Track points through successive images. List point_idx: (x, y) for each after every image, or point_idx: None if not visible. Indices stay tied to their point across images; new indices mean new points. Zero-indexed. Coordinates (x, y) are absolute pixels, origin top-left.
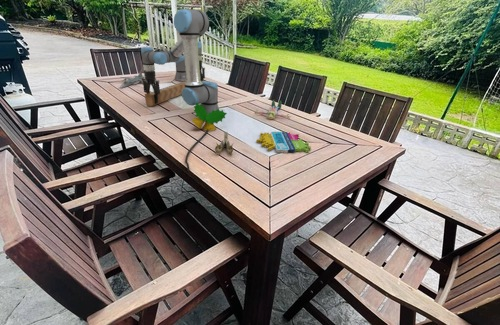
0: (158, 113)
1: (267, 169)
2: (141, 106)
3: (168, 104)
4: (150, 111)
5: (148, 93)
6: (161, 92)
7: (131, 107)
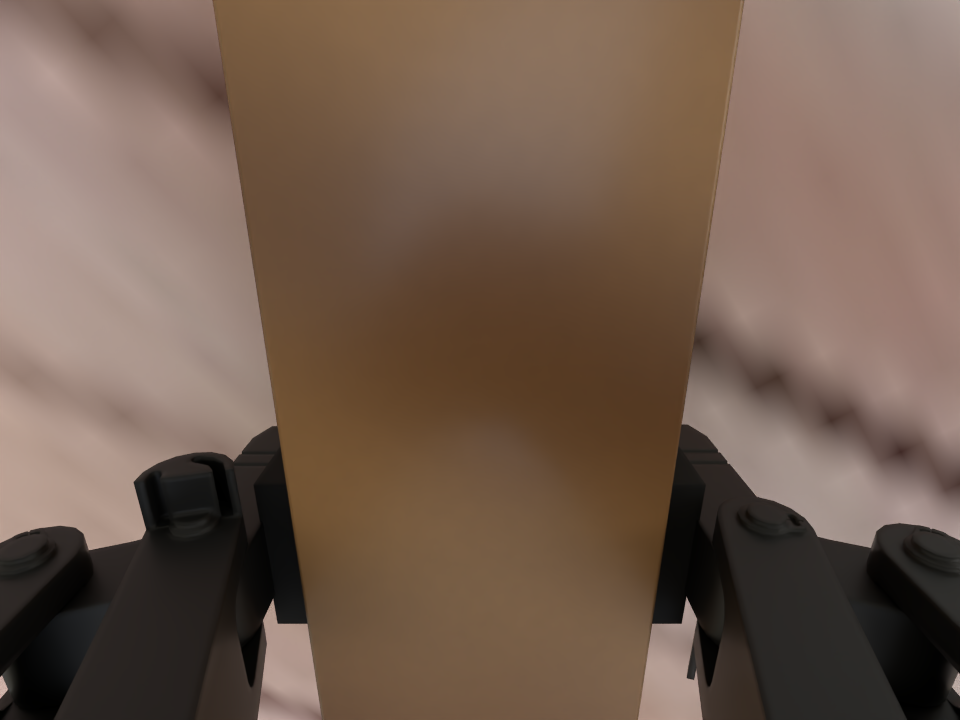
0: None
1: None
2: None
3: (777, 80)
4: (657, 656)
5: (365, 681)
6: (723, 10)
7: None
